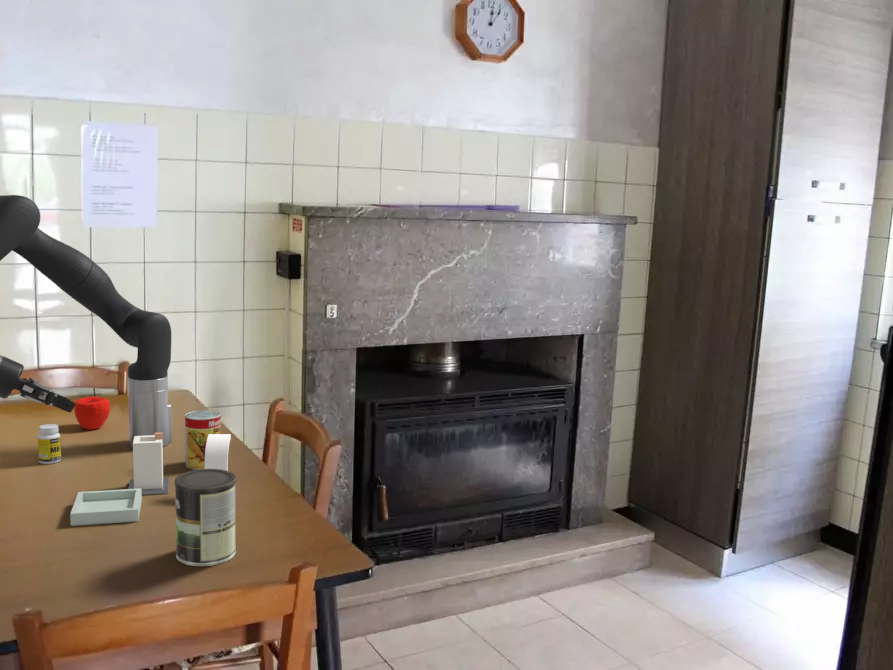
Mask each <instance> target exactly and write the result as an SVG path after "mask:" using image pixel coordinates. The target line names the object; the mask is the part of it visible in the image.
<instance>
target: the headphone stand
mask: <svg viewBox="0 0 893 670" xmlns="http://www.w3.org/2000/svg"><path fill="white" fill-rule="evenodd" d="M231 436H232V435H231V434H230V433H227V434H226V433H225V434H224V433H221V434H209V435H208V438H207V442H206V450H205V469H220V470H225V471H229V470H228V463H229V462H228V461H229V459H228V458H229V449H230V448H229V447H230V443H231V438H232V437H231Z"/></svg>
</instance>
